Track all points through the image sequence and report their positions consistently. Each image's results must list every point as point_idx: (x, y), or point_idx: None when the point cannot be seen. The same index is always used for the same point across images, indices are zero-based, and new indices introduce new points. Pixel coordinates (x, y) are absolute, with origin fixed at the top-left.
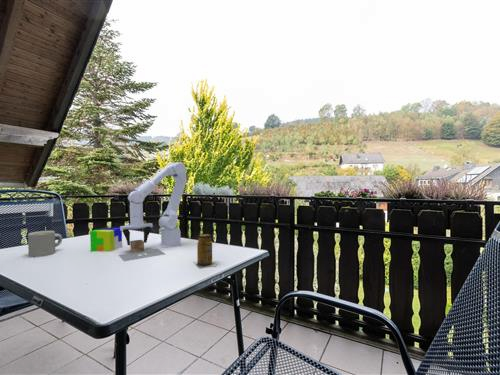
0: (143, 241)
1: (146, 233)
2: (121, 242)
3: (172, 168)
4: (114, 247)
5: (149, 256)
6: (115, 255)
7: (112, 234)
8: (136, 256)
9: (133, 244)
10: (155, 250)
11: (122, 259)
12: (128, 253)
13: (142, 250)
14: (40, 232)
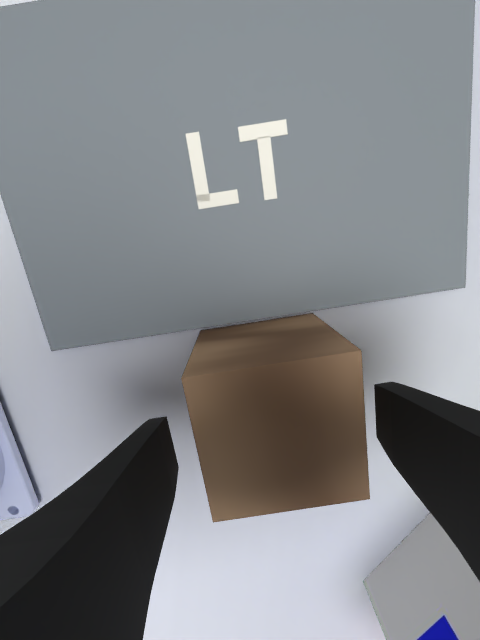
0: (188, 376)
1: (61, 533)
2: (391, 629)
3: None
4: None
5: (162, 13)
6: (477, 309)
7: None
8: (307, 108)
9: (342, 343)
10: (77, 286)
11: (472, 47)
12: (362, 299)
13: (215, 330)
14: None
